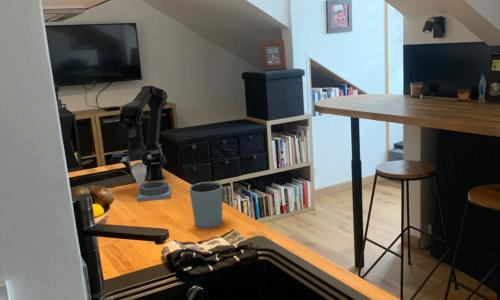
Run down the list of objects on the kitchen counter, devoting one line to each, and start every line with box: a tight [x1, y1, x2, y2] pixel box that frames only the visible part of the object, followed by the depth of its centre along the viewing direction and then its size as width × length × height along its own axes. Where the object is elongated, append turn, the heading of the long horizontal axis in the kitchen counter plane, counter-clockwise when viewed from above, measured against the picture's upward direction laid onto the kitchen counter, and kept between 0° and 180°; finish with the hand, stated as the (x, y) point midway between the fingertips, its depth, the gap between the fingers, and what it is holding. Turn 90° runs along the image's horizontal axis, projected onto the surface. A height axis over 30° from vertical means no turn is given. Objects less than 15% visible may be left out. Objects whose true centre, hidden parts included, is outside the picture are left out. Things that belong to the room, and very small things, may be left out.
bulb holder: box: [136, 180, 173, 203], centre depth 180 cm, size 12×12×4 cm
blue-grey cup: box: [189, 181, 223, 229], centre depth 146 cm, size 10×10×12 cm
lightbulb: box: [131, 161, 147, 189], centre depth 188 cm, size 6×6×11 cm
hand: (139, 175), depth 188 cm, fingers closed on lightbulb, 6 cm apart
